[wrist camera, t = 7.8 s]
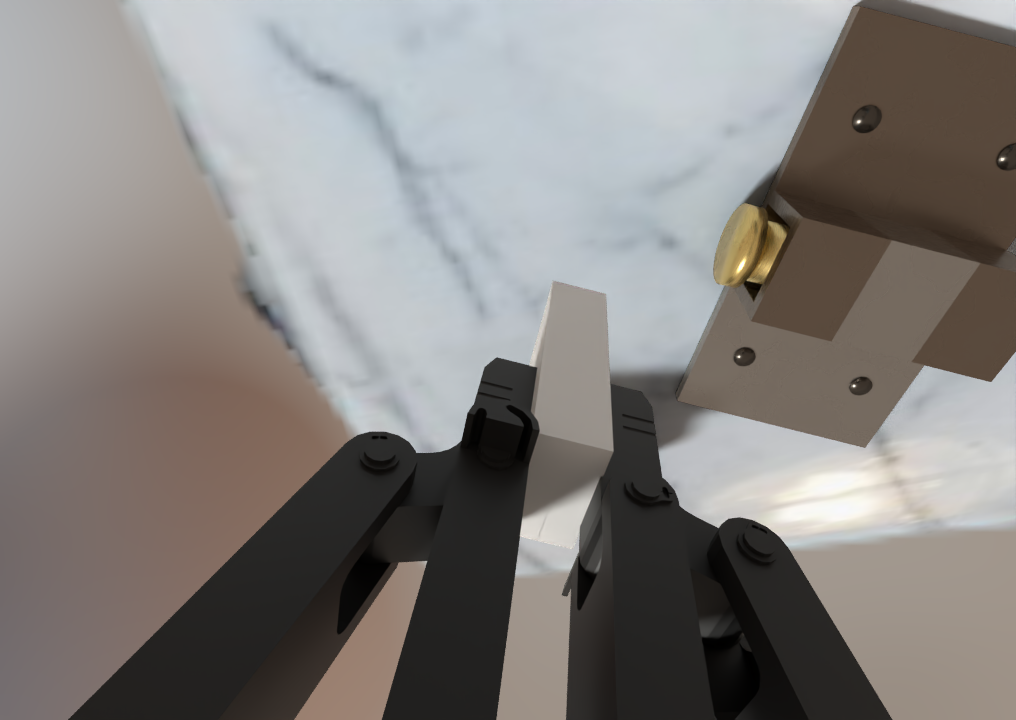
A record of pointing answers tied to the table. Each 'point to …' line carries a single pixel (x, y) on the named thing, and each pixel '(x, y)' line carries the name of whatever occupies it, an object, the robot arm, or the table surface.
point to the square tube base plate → (878, 238)
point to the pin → (747, 247)
